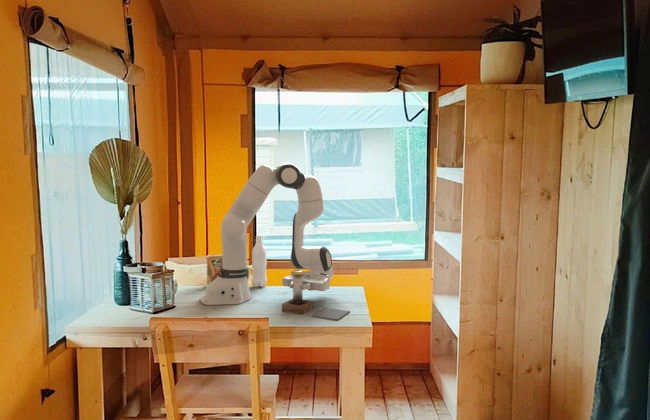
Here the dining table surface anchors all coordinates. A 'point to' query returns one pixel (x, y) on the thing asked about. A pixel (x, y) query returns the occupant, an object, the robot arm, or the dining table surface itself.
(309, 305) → the socket block
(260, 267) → the water bottle
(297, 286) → the steel peg
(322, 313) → the rubber mat
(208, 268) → the candy box
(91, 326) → the dining table surface
